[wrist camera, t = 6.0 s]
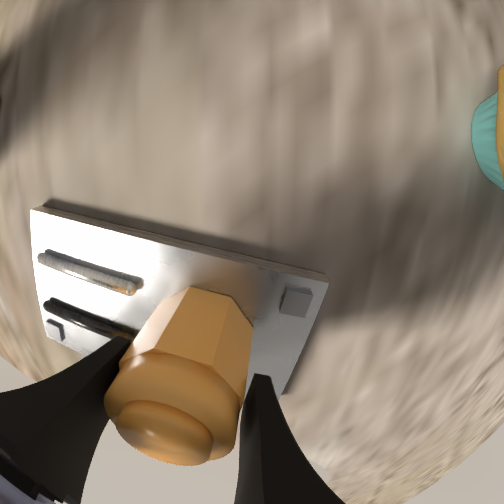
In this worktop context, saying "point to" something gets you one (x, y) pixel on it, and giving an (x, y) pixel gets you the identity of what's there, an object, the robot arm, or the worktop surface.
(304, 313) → the plate
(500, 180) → the cupcake
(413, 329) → the worktop surface
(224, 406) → the acorn cap nut
